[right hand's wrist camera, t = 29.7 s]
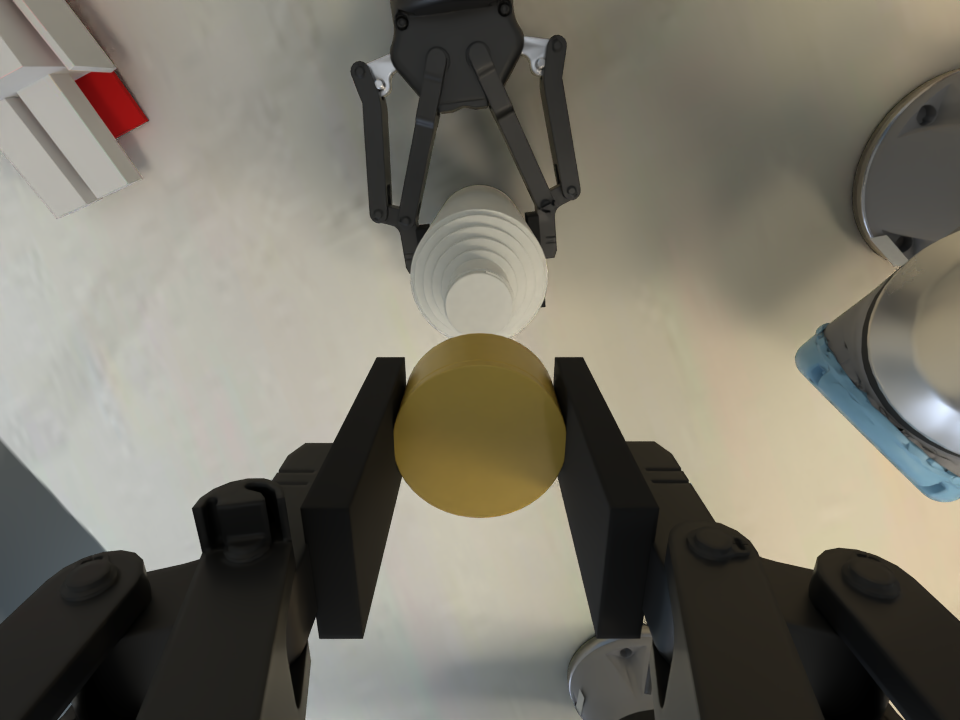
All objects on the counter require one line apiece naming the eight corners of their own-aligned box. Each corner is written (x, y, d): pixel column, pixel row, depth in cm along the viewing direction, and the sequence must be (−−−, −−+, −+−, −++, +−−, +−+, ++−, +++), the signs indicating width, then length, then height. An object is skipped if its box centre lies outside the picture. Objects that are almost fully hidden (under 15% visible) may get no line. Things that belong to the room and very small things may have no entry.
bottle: (504, 282, 46) (526, 402, 24) (426, 255, 45) (376, 354, 23) (534, 202, 43) (588, 255, 22) (452, 172, 43) (423, 196, 21)
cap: (584, 379, 14) (602, 419, 12) (503, 489, 16) (507, 543, 14) (452, 303, 14) (447, 331, 11) (378, 425, 15) (361, 471, 13)
